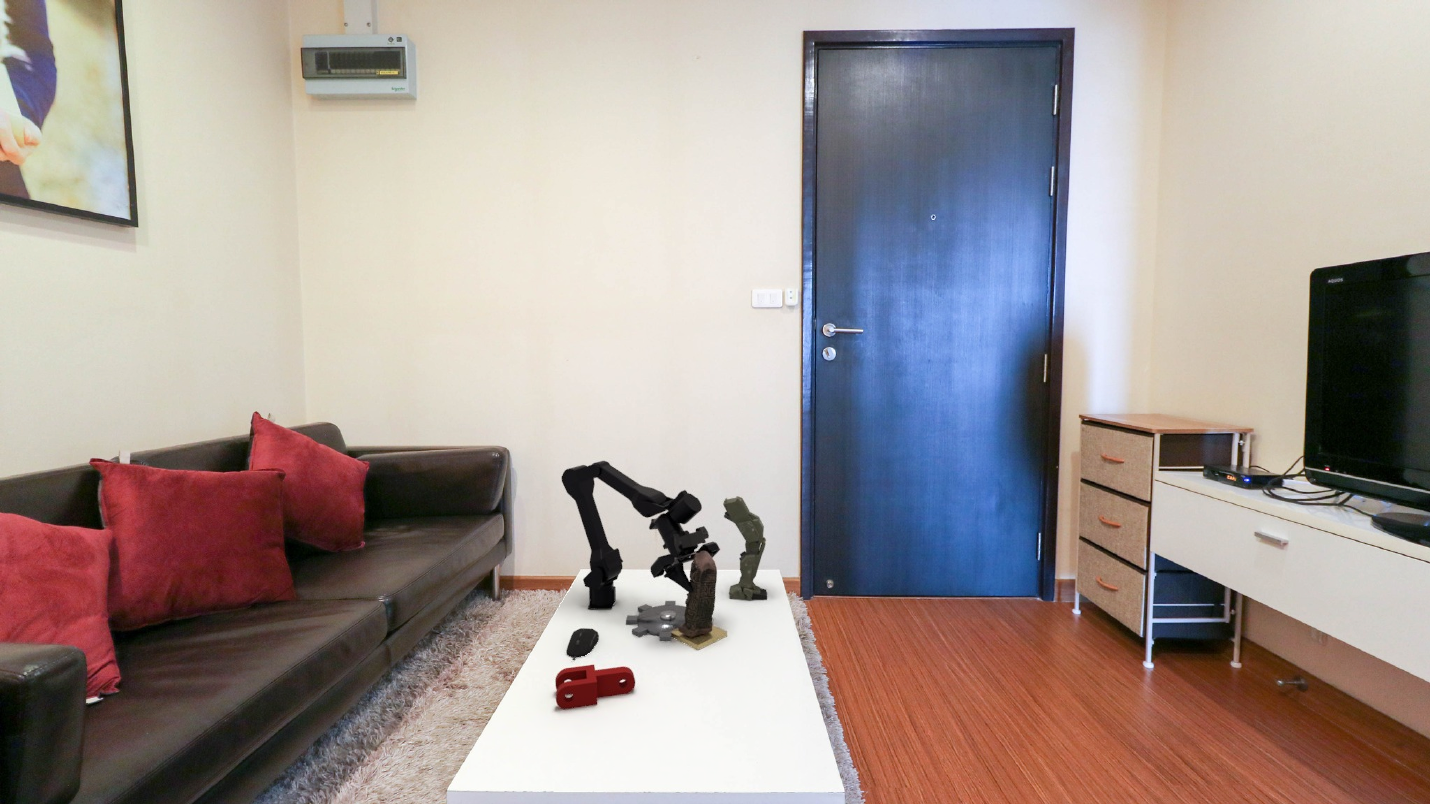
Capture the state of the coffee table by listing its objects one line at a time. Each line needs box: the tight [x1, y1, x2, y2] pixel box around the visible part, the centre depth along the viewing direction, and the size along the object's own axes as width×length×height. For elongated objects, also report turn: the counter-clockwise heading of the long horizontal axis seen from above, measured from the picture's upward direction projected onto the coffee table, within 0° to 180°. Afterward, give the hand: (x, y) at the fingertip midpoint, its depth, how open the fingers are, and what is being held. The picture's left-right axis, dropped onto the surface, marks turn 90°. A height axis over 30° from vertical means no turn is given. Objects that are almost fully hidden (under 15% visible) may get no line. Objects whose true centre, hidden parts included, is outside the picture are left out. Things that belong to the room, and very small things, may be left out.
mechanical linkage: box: [555, 664, 636, 711], centre depth 130 cm, size 16×7×5 cm, turn 105°
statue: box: [678, 551, 718, 637], centre depth 155 cm, size 7×7×20 cm
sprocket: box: [625, 600, 728, 650], centre depth 162 cm, size 27×21×2 cm
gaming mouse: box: [565, 628, 600, 661], centre depth 150 cm, size 6×15×4 cm, turn 175°
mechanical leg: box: [723, 496, 768, 601], centre depth 180 cm, size 14×7×30 cm, turn 84°
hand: (701, 589), depth 154 cm, fingers closed on statue, 6 cm apart
